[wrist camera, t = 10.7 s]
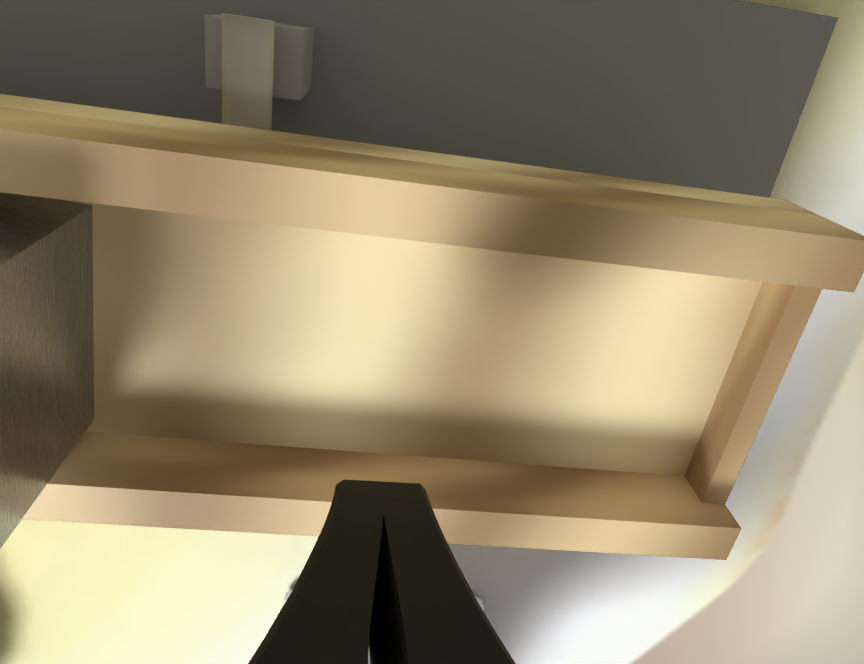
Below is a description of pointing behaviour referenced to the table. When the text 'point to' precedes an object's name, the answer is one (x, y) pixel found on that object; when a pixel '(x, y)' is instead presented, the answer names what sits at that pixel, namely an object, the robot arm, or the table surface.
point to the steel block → (42, 344)
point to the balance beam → (412, 328)
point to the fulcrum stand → (460, 76)
